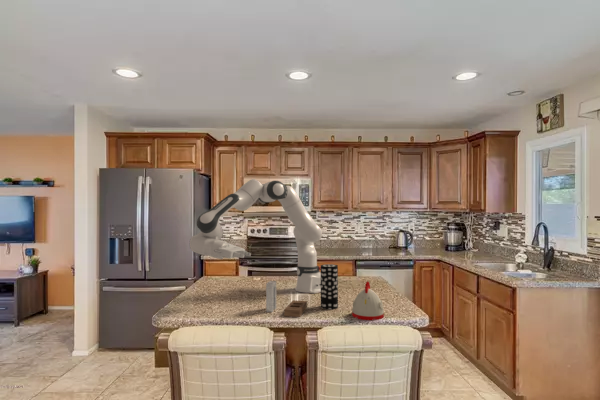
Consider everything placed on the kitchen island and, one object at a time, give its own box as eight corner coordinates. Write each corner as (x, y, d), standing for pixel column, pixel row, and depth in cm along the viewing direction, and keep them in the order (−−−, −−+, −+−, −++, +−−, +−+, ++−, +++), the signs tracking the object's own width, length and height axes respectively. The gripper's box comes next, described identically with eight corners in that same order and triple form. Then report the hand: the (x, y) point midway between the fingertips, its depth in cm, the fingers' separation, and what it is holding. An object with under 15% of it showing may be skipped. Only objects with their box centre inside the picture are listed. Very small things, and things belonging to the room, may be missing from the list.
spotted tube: (320, 304, 178) (320, 264, 179) (337, 304, 178) (337, 264, 179) (321, 309, 170) (320, 266, 171) (338, 309, 170) (338, 267, 170)
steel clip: (270, 308, 173) (270, 280, 173) (276, 308, 172) (276, 281, 173) (266, 311, 167) (266, 283, 167) (272, 312, 166) (272, 283, 166)
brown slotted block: (293, 306, 176) (292, 300, 176) (307, 307, 174) (307, 301, 174) (284, 316, 160) (284, 309, 160) (299, 317, 158) (299, 310, 158)
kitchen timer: (349, 318, 157) (348, 283, 157) (355, 309, 170) (355, 277, 170) (381, 321, 152) (381, 286, 152) (385, 312, 165) (385, 279, 165)
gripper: (213, 244, 167) (241, 250, 164) (229, 242, 187) (254, 248, 184) (210, 257, 167) (238, 263, 164) (227, 254, 187) (252, 260, 184)
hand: (247, 255), depth 174 cm, fingers open, 8 cm apart
